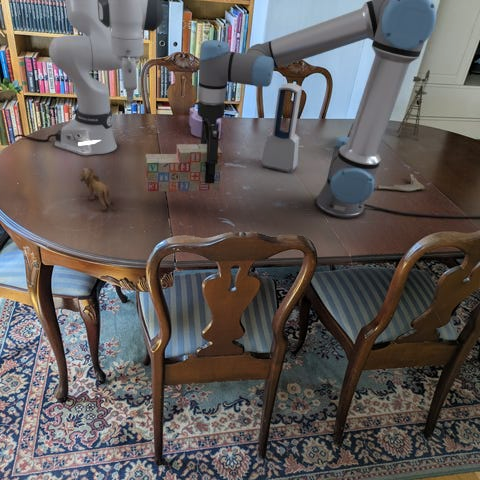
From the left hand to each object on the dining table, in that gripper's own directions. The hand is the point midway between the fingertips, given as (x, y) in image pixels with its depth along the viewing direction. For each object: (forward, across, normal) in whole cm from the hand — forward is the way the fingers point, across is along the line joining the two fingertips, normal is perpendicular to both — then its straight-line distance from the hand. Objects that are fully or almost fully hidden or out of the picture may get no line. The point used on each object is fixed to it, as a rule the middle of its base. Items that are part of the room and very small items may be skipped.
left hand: (129, 96), depth 139 cm
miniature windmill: (+28, +42, -129) cm, 138 cm away
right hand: (+19, -17, -22) cm, 33 cm away
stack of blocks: (+22, -17, -14) cm, 31 cm away
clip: (+28, +48, -32) cm, 64 cm away
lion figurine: (+28, -13, +11) cm, 33 cm away
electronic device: (+28, +9, -54) cm, 62 cm away
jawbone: (+28, -8, -94) cm, 99 cm away
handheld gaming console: (+28, +25, -91) cm, 98 cm away
